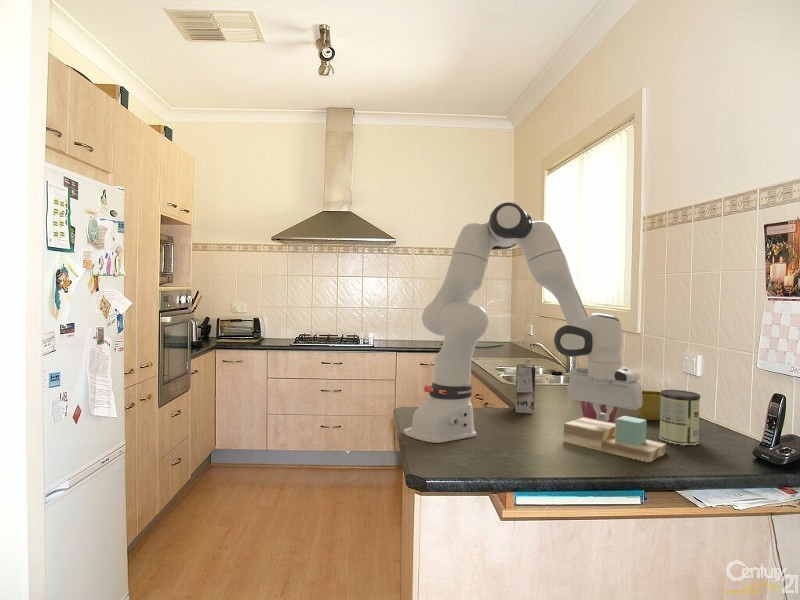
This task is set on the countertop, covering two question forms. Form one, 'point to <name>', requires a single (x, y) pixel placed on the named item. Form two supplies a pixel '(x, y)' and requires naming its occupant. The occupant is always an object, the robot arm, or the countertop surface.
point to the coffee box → (525, 388)
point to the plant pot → (591, 413)
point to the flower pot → (650, 405)
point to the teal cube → (630, 430)
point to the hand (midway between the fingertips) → (602, 419)
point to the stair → (609, 440)
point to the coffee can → (679, 417)
